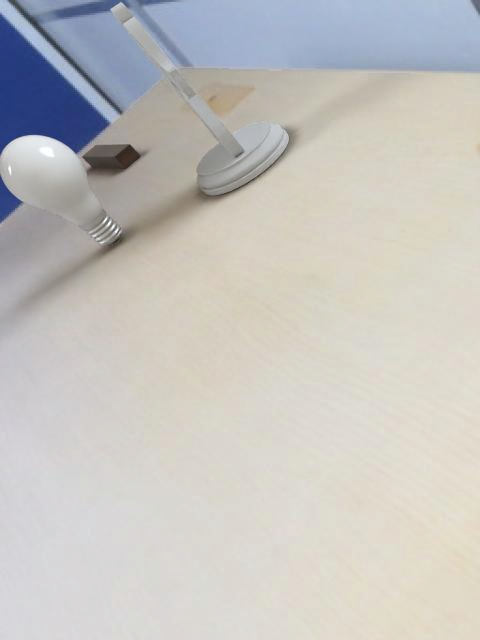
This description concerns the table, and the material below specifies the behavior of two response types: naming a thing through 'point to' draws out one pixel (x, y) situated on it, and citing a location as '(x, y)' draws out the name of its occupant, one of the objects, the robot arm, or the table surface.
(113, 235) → the lightbulb
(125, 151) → the walnut stick
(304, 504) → the table surface
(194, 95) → the white sign stand
